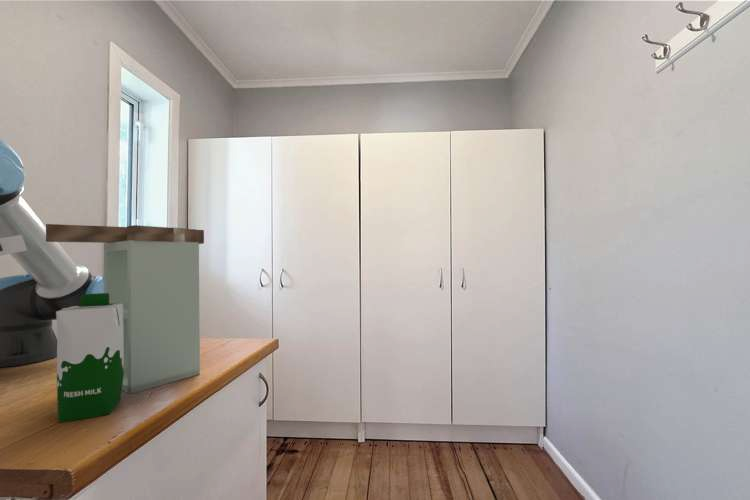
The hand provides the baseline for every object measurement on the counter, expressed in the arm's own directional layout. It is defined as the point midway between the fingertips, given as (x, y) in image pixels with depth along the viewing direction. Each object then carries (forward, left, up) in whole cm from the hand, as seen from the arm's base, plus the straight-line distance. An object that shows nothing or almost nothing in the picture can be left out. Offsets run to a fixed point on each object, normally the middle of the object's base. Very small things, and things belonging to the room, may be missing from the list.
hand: (4, 246), depth 64 cm
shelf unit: (-19, +13, -29) cm, 37 cm away
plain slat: (-16, +11, +1) cm, 20 cm away
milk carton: (-2, +16, -29) cm, 33 cm away
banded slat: (-17, +18, +1) cm, 25 cm away
